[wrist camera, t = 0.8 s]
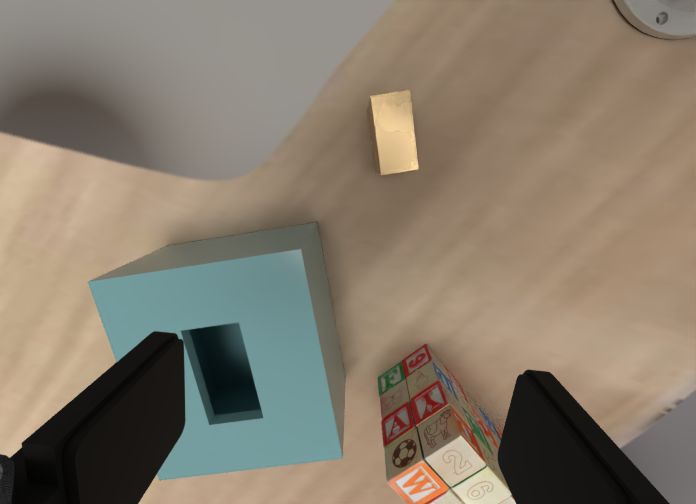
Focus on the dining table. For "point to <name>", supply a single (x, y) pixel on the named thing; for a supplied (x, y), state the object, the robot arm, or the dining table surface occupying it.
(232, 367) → the coin box
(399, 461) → the stack of blocks
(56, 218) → the dining table surface
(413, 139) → the tan flat block
